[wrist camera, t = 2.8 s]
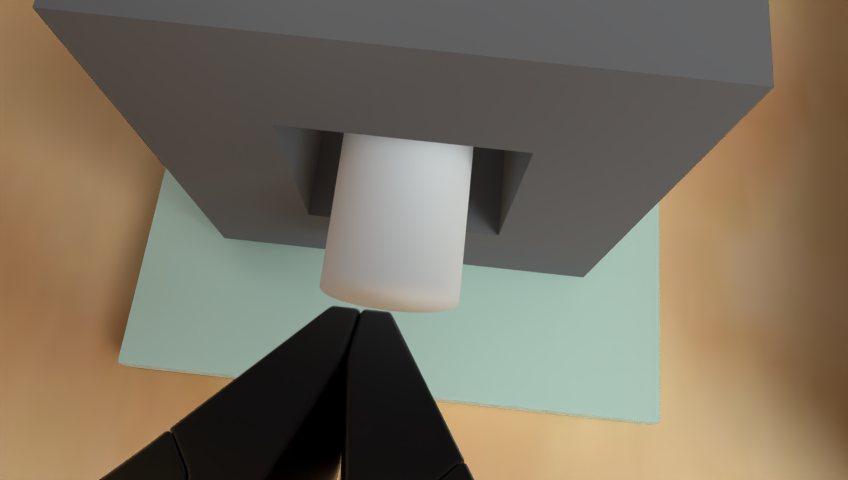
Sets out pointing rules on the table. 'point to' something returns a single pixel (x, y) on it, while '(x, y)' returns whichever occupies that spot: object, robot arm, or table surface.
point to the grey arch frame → (430, 104)
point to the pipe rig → (407, 293)
